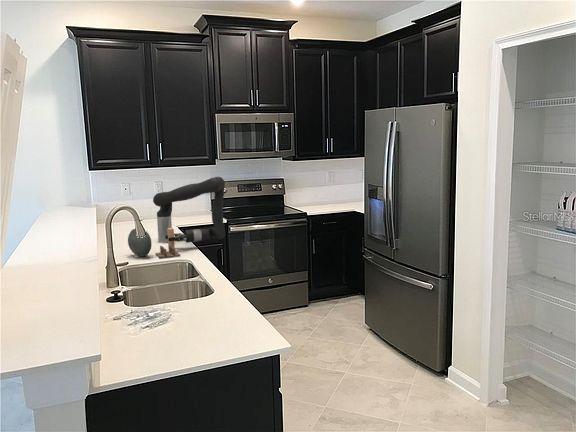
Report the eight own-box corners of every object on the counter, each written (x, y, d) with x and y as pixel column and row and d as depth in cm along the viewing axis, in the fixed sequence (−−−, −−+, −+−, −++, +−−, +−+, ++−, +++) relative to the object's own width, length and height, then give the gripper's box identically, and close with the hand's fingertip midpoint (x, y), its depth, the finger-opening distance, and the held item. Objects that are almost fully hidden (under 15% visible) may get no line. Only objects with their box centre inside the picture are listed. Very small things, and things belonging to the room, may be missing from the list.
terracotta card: (168, 250, 300) (167, 227, 298) (172, 249, 302) (171, 227, 299) (170, 252, 295) (169, 229, 293) (174, 251, 296) (173, 229, 294)
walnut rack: (155, 254, 289) (154, 246, 288) (175, 252, 294) (174, 244, 294) (159, 258, 279) (159, 250, 278) (180, 256, 284) (180, 248, 283)
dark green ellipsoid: (146, 252, 295) (144, 216, 291) (154, 258, 281) (152, 220, 277) (126, 255, 289) (124, 218, 285) (134, 260, 275) (131, 222, 271)
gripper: (189, 228, 309) (163, 230, 302) (196, 231, 296) (169, 234, 289) (190, 239, 310) (164, 242, 303) (196, 243, 298) (170, 246, 290)
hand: (167, 238), depth 296 cm, fingers open, 7 cm apart
